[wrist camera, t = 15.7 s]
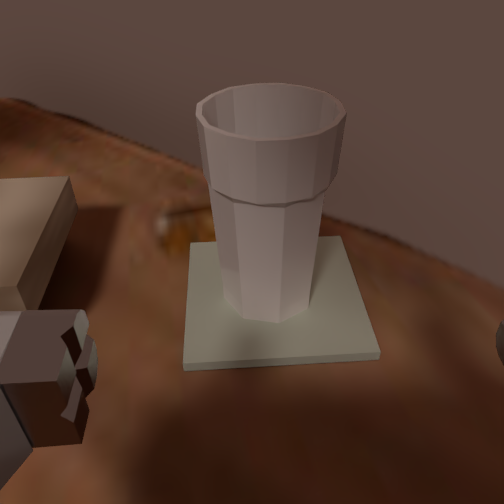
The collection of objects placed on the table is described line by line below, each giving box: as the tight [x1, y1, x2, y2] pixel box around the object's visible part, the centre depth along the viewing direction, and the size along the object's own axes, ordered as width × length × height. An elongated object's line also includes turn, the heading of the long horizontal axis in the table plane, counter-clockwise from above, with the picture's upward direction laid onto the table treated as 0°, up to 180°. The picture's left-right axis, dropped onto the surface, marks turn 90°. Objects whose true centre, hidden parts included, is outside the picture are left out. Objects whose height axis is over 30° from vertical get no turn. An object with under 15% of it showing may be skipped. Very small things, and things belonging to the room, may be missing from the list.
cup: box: [196, 82, 347, 323], centre depth 25 cm, size 7×7×11 cm
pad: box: [183, 236, 381, 371], centre depth 28 cm, size 10×10×1 cm
